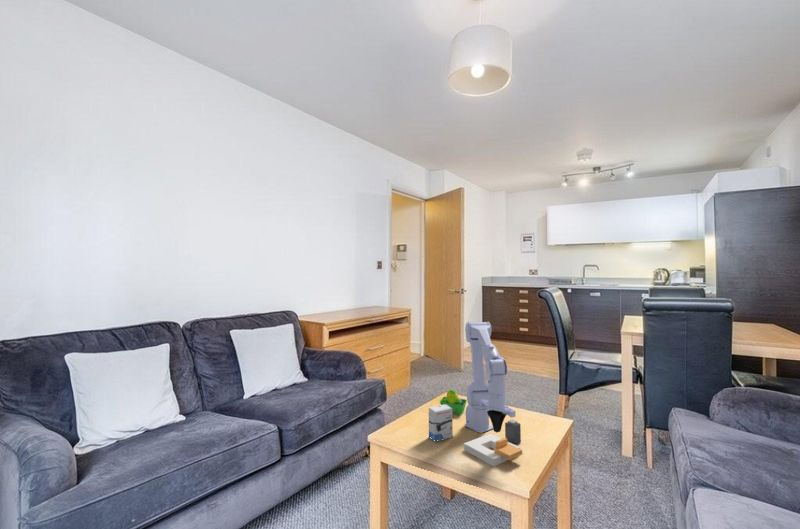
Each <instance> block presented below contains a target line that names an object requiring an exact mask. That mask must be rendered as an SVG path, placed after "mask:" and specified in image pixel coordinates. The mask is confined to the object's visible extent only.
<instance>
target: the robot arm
mask: <svg viewBox="0 0 800 529" xmlns="http://www.w3.org/2000/svg"><path fill="white" fill-rule="evenodd" d="M492 330H493V329H492V325H491V323H490V322H489V321H484V322H483V321H481V322H480V321H477V322H476V321H475V322H471V321H470V322H469V321H467V322H466V323H465V339H466V340H465V341H466V342H468V343H469V345H470V351H471V366H472V379H473V380H472V381H473V382H471V383H470V384H469V385H468V386H467V388H466V391H467V392H466V400H467V401H466V403H467V406H465V424H464V426H465V427H466V428H469V429H471V430H473V431H475V432H477V433H480V434H482V433H485V432H488V431H491V430H493V432H495V433H500V432H501V431H502V427H503V423H504V421H505V419H506V417H507V416H509V418H512V419H513V418H514V417H516V410H515V409H512V408H511V407H509V406H507V405H506V385H505V384H506V382H505V381H506V380H505V377H506V376H507V374H508V366H507V361H506V359H505V358H504V357H502V356H501V355H500V353H499V350H498V349H497V347H496V345H495V344H493V343H492V340H491V335H492ZM484 362H485V366H484ZM485 372H486V379H487V383H486V379H485ZM490 422H491V425H490Z"/></svg>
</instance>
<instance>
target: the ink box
mask: <svg viewBox="0 0 800 529" xmlns="http://www.w3.org/2000/svg"><path fill="white" fill-rule="evenodd" d="M453 426H454V425H453V413H452V408H451V407H449V406H448V405H446V404H444V405H441V404H440V405H436V406H435V405H433V406H430V407H428V438H429V437H431V438H432V439H433V440H435V441H437V440H441V441H443V440H442V439H445V440H447V439H446V438H449V439H451V437H452V438H453V436H454V434H453V433H454V431H453ZM432 439H431V440H432ZM433 440H432V441H433ZM435 441H434V442H435ZM437 442H438V441H437Z"/></svg>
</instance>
